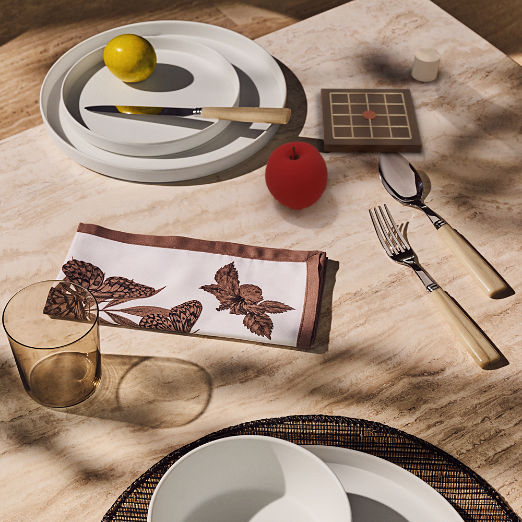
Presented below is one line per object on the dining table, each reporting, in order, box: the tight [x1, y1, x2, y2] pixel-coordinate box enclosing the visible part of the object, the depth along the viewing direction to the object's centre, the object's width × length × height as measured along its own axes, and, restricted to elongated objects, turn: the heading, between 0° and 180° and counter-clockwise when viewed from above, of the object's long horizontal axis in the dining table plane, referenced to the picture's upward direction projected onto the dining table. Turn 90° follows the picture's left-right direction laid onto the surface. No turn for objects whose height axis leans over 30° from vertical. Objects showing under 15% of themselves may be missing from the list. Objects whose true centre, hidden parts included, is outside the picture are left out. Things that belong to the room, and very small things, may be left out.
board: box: [320, 88, 423, 153], centre depth 110 cm, size 15×15×2 cm
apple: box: [264, 141, 329, 211], centre depth 96 cm, size 9×9×10 cm
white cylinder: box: [411, 47, 442, 83], centre depth 119 cm, size 4×4×4 cm
